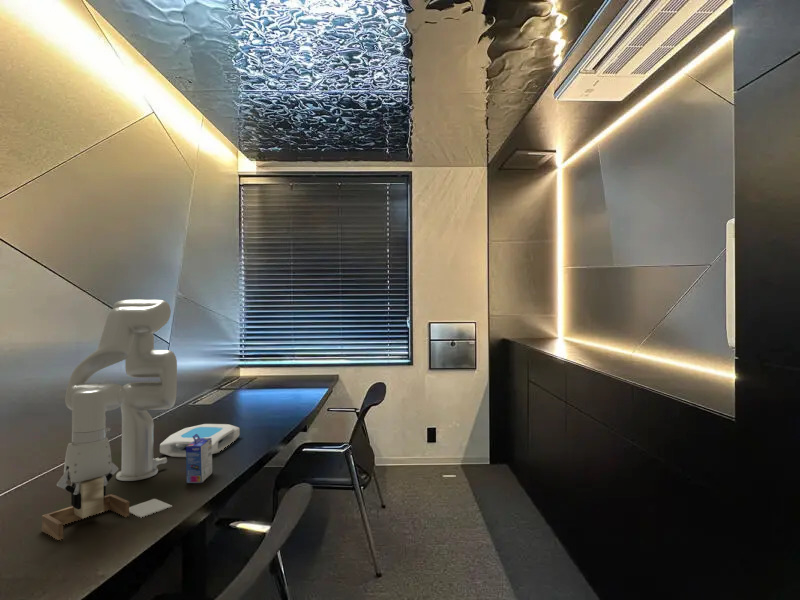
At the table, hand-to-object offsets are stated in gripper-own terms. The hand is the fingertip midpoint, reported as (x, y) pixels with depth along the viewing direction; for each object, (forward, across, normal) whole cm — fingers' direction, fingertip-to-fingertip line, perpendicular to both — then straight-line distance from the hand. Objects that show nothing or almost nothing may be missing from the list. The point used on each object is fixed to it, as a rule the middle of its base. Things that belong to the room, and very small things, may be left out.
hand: (88, 503), depth 128 cm
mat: (+5, -14, +4) cm, 15 cm away
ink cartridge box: (+6, -36, -6) cm, 37 cm away
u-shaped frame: (+5, 0, 0) cm, 5 cm away
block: (+3, 0, 0) cm, 3 cm away
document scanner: (+7, -59, -38) cm, 71 cm away
